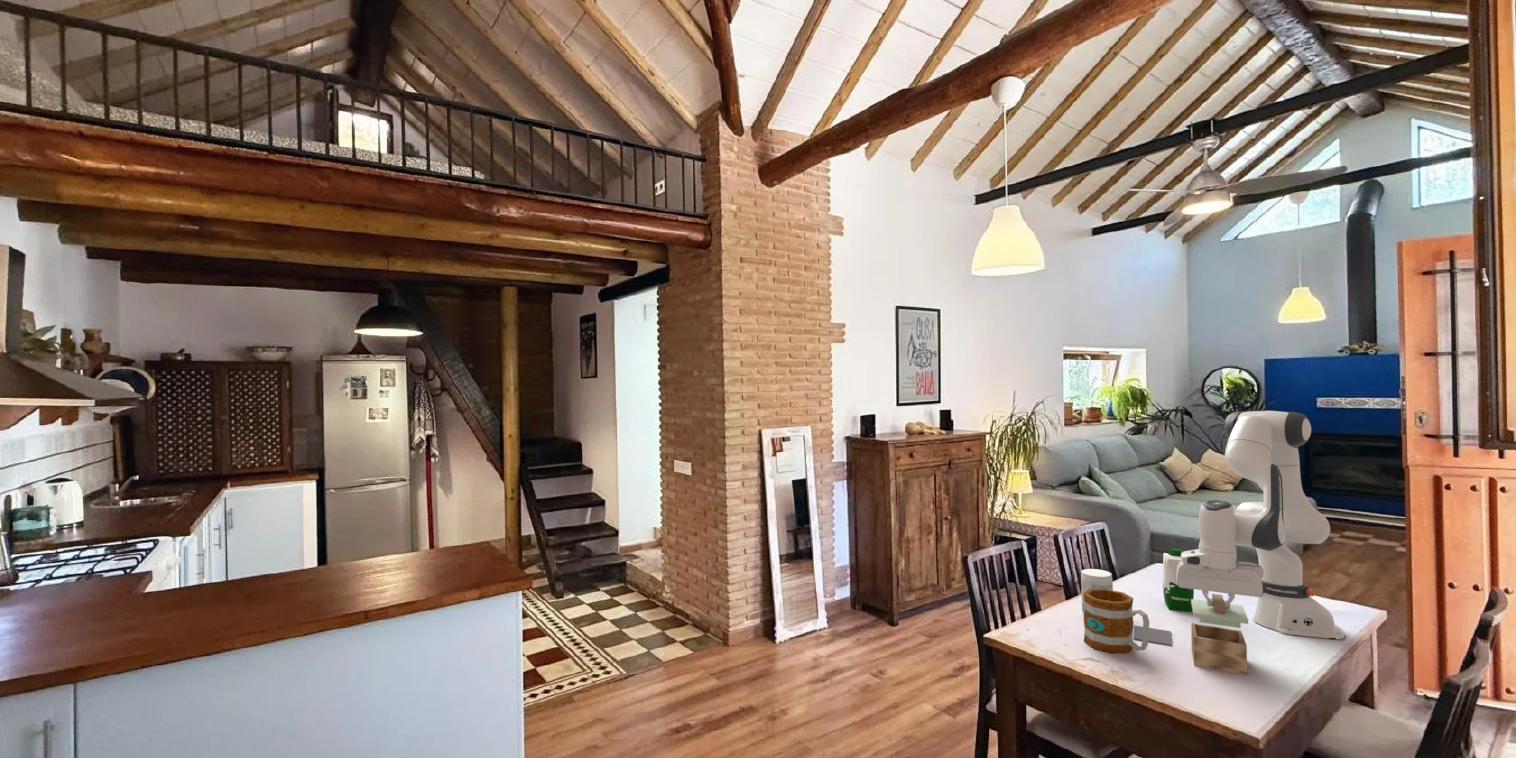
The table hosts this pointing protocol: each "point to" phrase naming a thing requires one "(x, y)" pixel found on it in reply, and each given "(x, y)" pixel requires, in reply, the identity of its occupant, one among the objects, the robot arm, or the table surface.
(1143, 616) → the mug
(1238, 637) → the crate
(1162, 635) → the mat
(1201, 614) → the lid
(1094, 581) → the supplement tub
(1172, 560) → the milk carton
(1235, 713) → the table surface
